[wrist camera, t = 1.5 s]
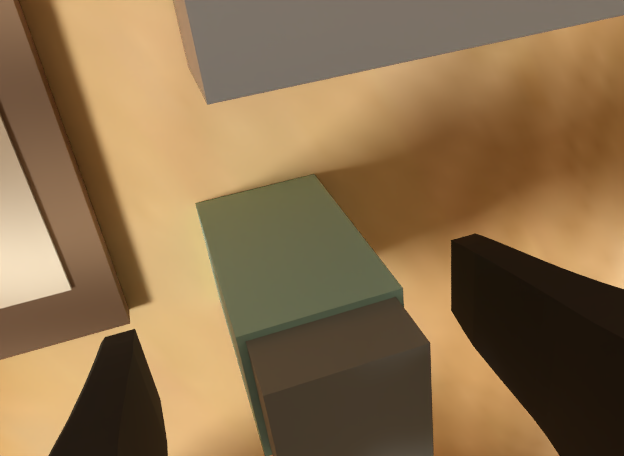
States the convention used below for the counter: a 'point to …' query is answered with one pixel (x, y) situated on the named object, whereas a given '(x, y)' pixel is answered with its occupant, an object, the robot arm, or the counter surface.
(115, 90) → the counter surface
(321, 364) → the block
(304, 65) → the button housing
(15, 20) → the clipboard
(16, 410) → the counter surface
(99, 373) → the robot arm
